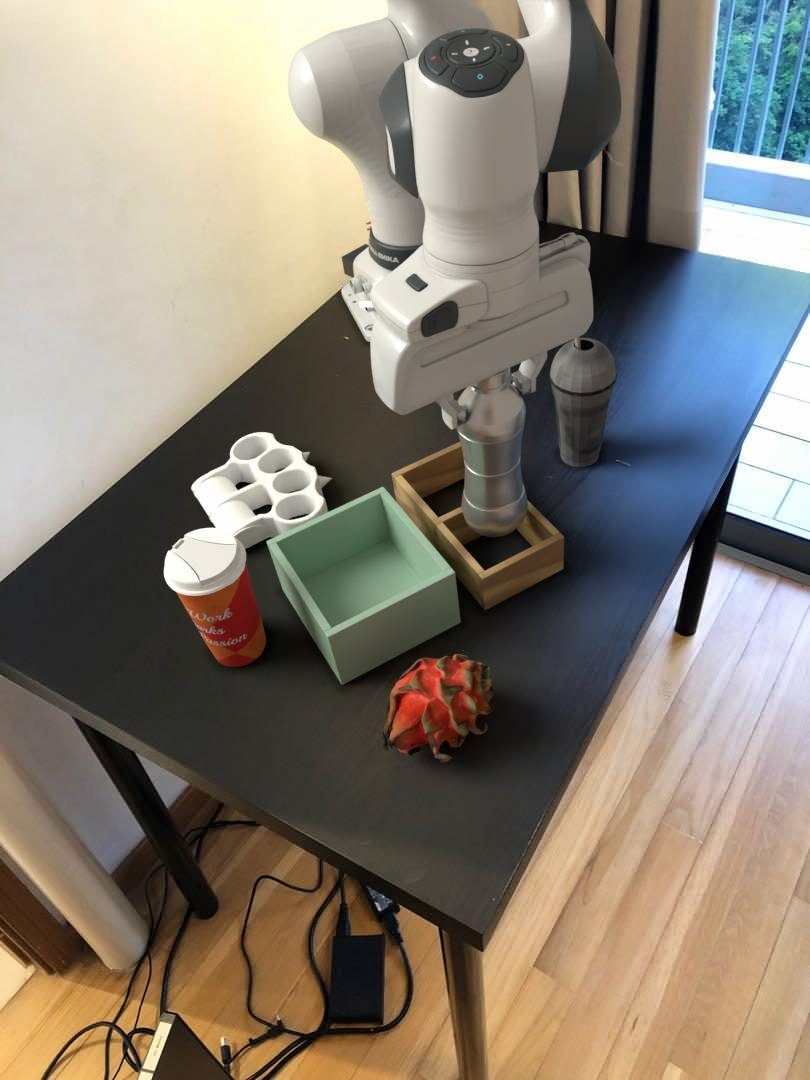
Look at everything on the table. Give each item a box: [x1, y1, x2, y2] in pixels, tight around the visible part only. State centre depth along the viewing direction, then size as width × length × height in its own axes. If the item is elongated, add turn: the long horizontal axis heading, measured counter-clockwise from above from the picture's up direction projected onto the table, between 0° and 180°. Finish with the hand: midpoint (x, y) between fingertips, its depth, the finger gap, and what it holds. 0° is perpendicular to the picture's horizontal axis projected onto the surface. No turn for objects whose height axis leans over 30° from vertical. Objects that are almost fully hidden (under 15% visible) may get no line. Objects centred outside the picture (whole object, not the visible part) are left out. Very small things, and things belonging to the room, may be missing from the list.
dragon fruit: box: [382, 653, 495, 764], centre depth 78 cm, size 8×8×12 cm
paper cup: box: [163, 527, 267, 668], centre depth 85 cm, size 8×8×14 cm
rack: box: [391, 441, 565, 611], centre depth 95 cm, size 19×10×5 cm, turn 29°
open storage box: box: [266, 486, 462, 686], centre depth 88 cm, size 15×14×8 cm
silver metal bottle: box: [456, 367, 529, 538], centre depth 83 cm, size 6×7×20 cm
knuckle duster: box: [191, 431, 333, 550], centre depth 103 cm, size 3×18×15 cm
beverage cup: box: [548, 336, 618, 468], centre depth 96 cm, size 7×7×20 cm
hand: (489, 407), depth 79 cm, fingers closed on silver metal bottle, 6 cm apart
